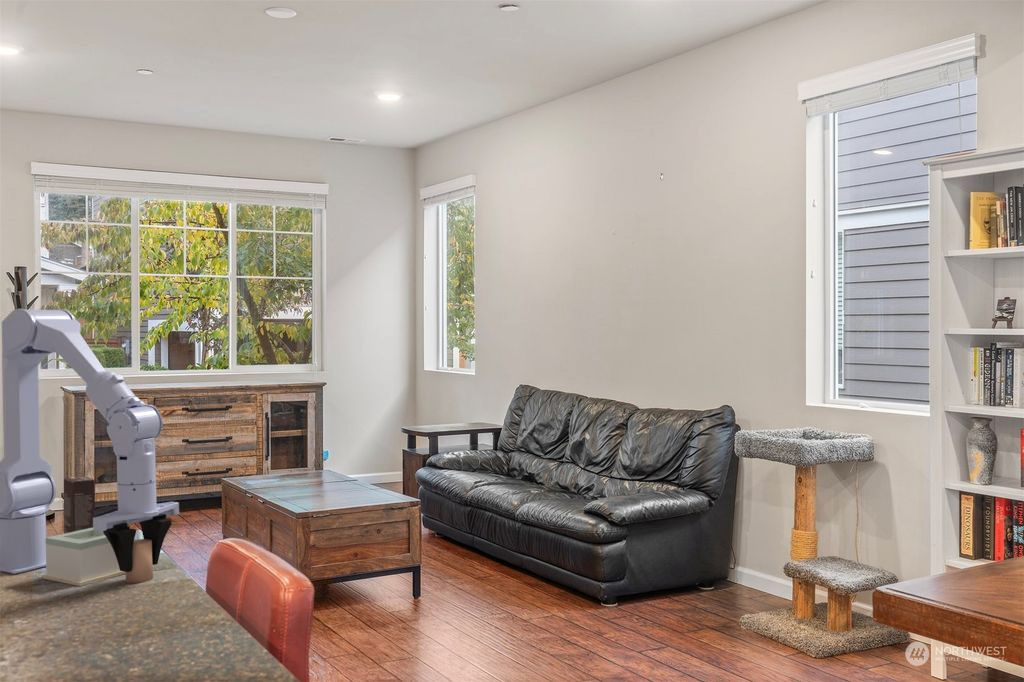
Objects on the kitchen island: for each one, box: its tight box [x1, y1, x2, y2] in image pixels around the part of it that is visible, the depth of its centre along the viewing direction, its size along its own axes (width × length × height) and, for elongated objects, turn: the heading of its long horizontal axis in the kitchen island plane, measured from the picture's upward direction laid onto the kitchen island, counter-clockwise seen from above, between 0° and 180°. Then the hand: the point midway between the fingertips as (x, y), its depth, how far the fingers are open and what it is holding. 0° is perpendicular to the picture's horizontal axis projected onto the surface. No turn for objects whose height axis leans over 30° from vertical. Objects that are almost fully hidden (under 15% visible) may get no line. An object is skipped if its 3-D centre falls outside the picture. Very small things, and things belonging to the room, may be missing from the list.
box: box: [63, 476, 96, 534], centre depth 177 cm, size 6×4×12 cm
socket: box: [41, 528, 126, 587], centre depth 153 cm, size 10×10×6 cm
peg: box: [125, 538, 154, 584], centre depth 150 cm, size 4×4×6 cm
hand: (139, 567), depth 150 cm, fingers open, 4 cm apart
